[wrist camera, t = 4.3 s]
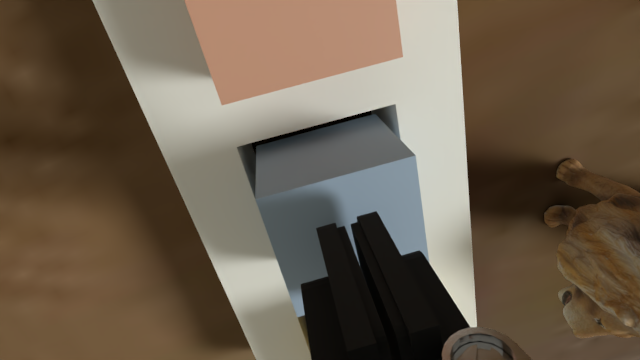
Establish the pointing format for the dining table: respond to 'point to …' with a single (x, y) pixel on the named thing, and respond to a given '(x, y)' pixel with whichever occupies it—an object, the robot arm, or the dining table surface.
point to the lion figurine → (599, 255)
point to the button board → (288, 116)
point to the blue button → (335, 193)
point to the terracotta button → (290, 41)
